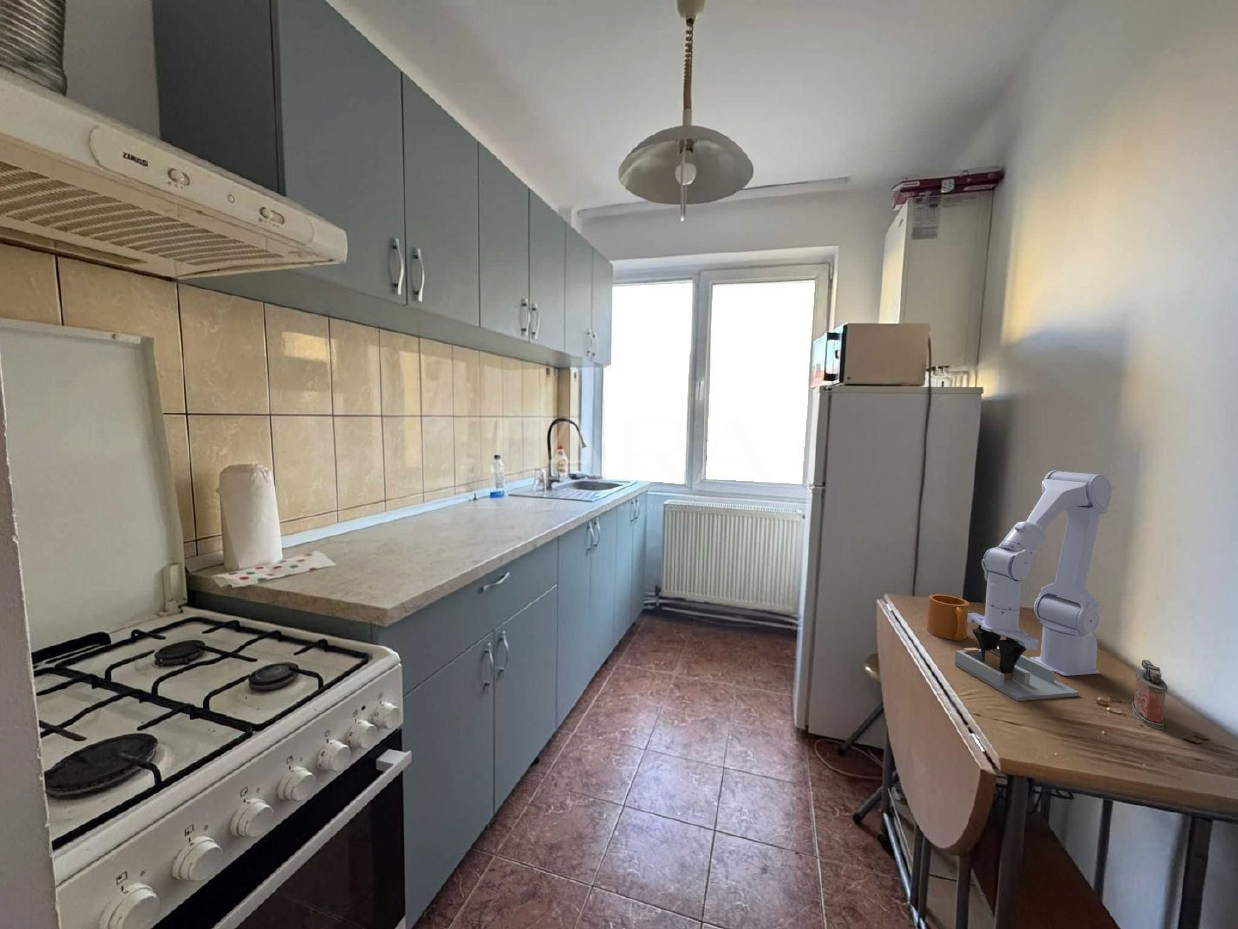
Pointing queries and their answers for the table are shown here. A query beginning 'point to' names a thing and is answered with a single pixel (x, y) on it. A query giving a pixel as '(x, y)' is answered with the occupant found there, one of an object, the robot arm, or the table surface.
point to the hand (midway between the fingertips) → (997, 668)
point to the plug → (995, 662)
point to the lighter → (1149, 695)
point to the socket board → (1015, 677)
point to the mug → (947, 617)
